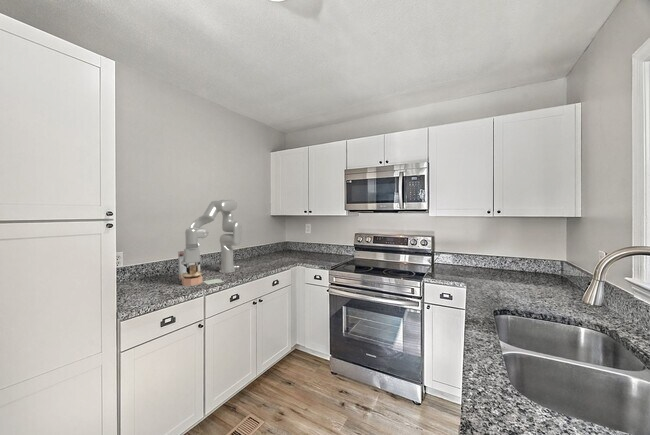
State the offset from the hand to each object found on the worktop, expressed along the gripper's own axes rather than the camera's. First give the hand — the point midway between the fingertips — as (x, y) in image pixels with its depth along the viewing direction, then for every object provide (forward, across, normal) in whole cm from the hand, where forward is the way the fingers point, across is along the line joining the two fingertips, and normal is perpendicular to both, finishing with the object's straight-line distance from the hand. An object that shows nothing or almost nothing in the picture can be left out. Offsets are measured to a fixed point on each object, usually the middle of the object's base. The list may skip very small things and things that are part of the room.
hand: (192, 272), depth 186 cm
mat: (+8, -12, +6) cm, 16 cm away
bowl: (+8, 0, 0) cm, 8 cm away
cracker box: (+8, -3, -18) cm, 20 cm away
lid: (+2, 0, 0) cm, 2 cm away
